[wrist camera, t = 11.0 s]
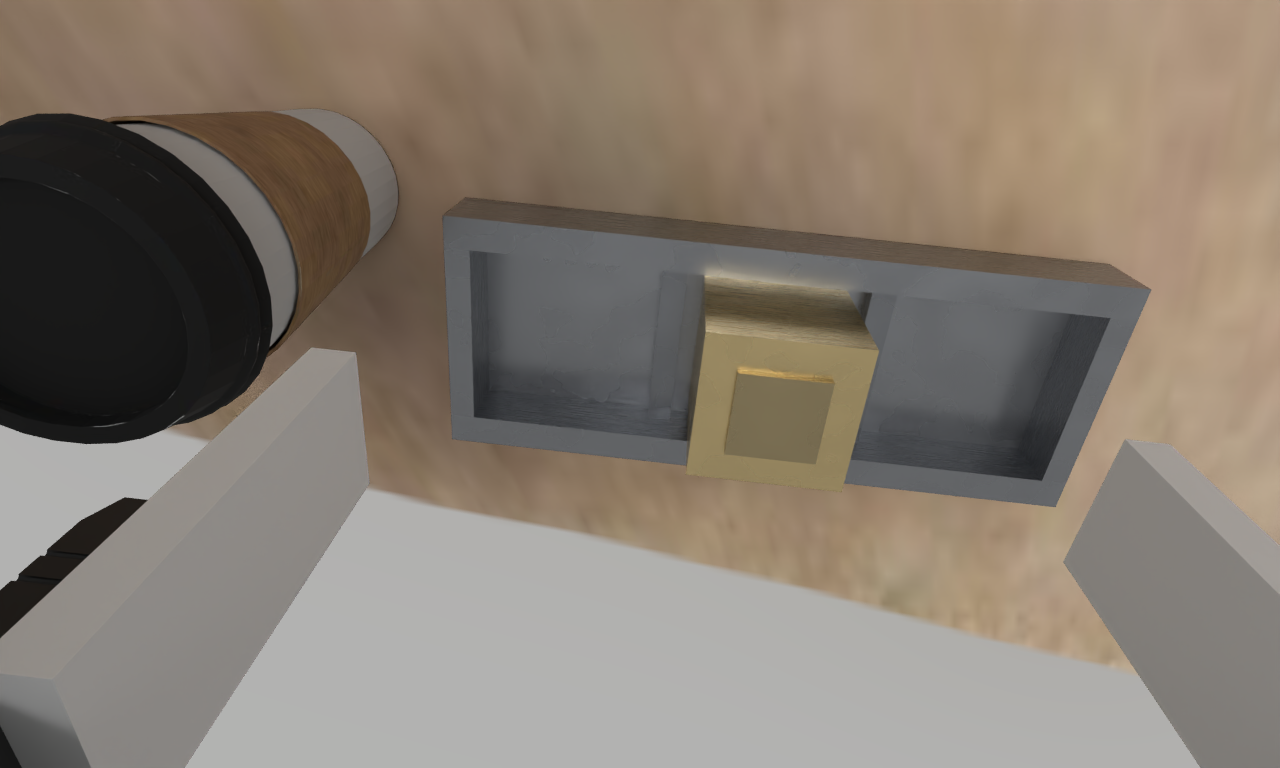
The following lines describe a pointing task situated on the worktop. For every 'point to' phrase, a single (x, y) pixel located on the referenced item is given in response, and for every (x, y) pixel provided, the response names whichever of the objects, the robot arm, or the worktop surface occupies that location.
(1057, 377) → the grey divided tray
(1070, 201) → the worktop surface
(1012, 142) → the worktop surface
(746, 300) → the recessed panel cube
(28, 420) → the coffee cup
